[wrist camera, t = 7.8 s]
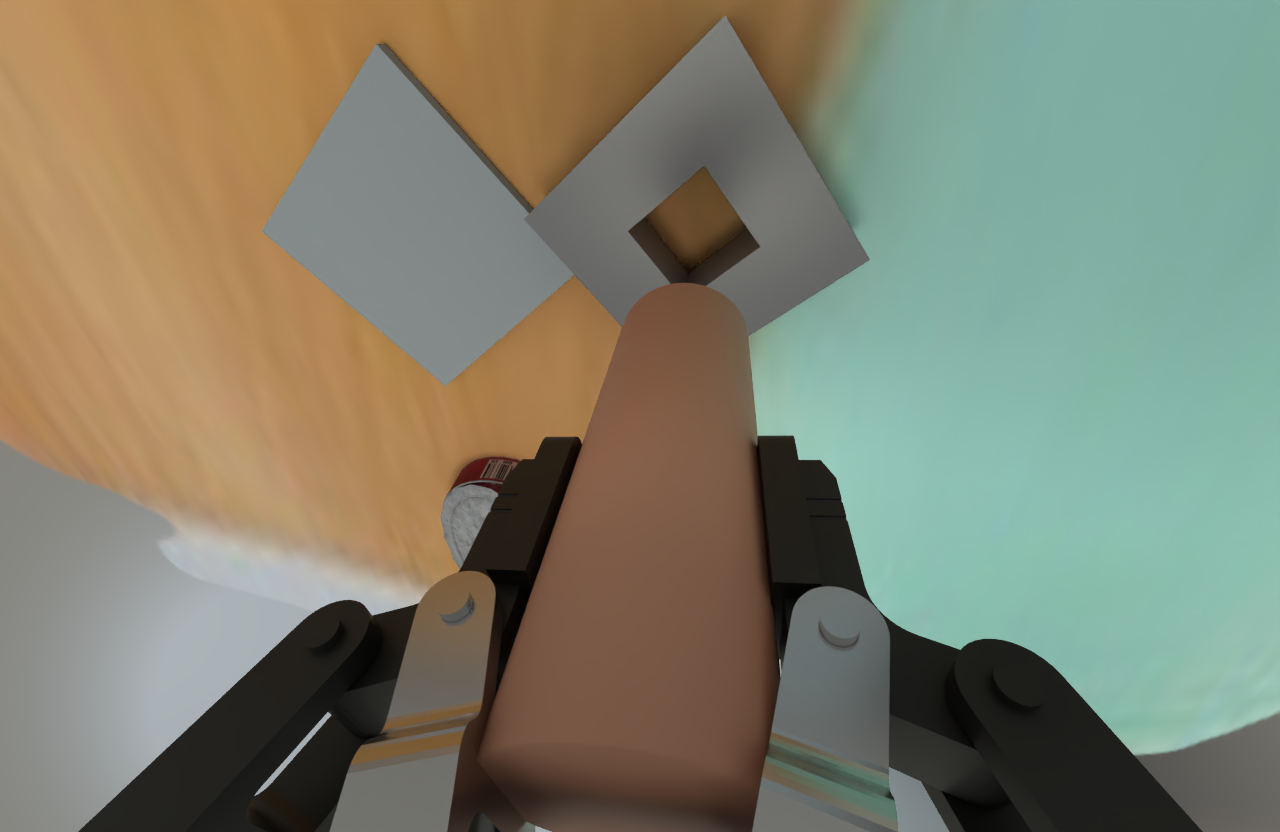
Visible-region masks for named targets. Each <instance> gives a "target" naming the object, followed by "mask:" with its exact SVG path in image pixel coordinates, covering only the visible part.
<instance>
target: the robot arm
mask: <svg viewBox="0 0 1280 832" xmlns="http://www.w3.org/2000/svg"><path fill="white" fill-rule="evenodd" d="M581 446H582V443H581V440H580V439H579V437H546V438H544V439H543V441H542V443H541V445H540V448H539V450H538V452H537V454H536V457H535V459H523V460H522V461H521V462H520V463H519V464H518V465H517V466H516V467H515V468H514V469H513V470H512V471H511V472H509V473H508V474H507V476H506V478H505V480H504V482H503V484H502V486H501V488H500V490H499V492H498V497H496V498H495V500H494V502H493V504H492V506H491V508H490V510H491V511H490V512H488V514H487V516H486V518H485V520H484V522H483V524H482V526H481V528H480V530H479V532H478V534H477V536H476V538H475V540H474V542H473V545H472V547H471V549H470V551H469V553H468V555H467V557H466V559H465V561H464V563H463V565H462V567H461V569H460V570H459V572H458V573H455V574H452V575H450V576H448V577H446V578H444V579H442V580H441V581H439V582H438V583H436V584H435V585H434V586H433V587H431V588H430V589H429V591H428V592H427V593H426V594H425V595H424V596H423V598H422V599H421V601H420V603H418V604H415V605H412V606H408V607H404V608H400V609H397V610H393V611H389V612H385V613H381V614H377V615H373V616H372V615H371V614H370V612H369V611H368V610H367V608H366V607H365V606H364V605H363V604H362V603H360V602H357V601H353V600H343V601H337V602H334V603H331V604H328V605H326V606H324V607H322V608H320V609H318V610H317V611H315V612H314V613H312V614H311V615H309V616H308V617H307V618H306V619H304V620H303V621H302V622H301V623H300V624H299V625H298V626H297V627H296V628H295V629H294V630H293V631H291V632H290V633H289V634H288V635H287V636H286V637H285V638H284V639H283V640H282V641H281V642H280V643H279V644H278V645H277V646H276V647H274V648H273V649H272V650H271V651H270V652H269V653H268V654H267V655H266V656H265V657H264V658H263V659H262V660H261V661H259V663H257V664H256V665H255V666H254V667H253V668H252V669H251V670H250V671H249V672H248V673H247V674H246V675H245V676H244V677H243V678H241V679H240V680H239V681H238V682H237V683H236V684H235V685H234V686H233V687H232V688H231V689H230V690H229V691H228V692H226V694H225V695H223V696H222V697H221V698H220V699H219V700H218V701H217V702H216V703H215V704H214V705H213V706H212V707H211V708H209V709H208V710H207V711H206V712H205V713H204V714H203V715H202V716H201V717H200V718H199V719H198V720H197V721H196V722H195V723H194V724H192V726H190V727H189V728H188V729H187V730H186V731H185V732H184V733H183V734H182V735H181V736H180V737H179V738H178V739H176V741H174V742H173V743H172V744H171V745H170V746H169V747H168V748H167V749H166V750H165V751H164V752H163V753H162V754H160V755H159V756H158V757H157V758H156V759H155V760H154V761H153V762H152V763H151V764H150V765H149V766H148V767H147V768H146V769H145V770H143V771H142V772H141V773H140V774H139V775H138V776H137V777H136V778H135V779H134V780H133V781H132V782H131V783H130V784H129V785H127V787H125V788H124V789H123V790H122V791H121V792H120V793H119V794H118V795H117V796H116V797H115V798H114V799H113V800H112V801H110V802H109V803H108V804H107V805H106V806H105V807H104V808H103V809H102V810H101V811H100V812H99V813H98V814H97V815H96V816H95V817H93V818H92V820H90V821H89V822H88V823H87V824H86V825H85V826H84V827H83V828H82V829H81V830H80V831H79V832H535V825H533V824H531V823H528V822H526V821H525V819H524V818H523V817H522V816H521V815H520V813H519V812H518V811H517V810H516V808H515V807H514V806H513V805H512V803H511V802H510V801H509V800H508V798H507V797H506V796H505V795H504V794H503V792H502V791H501V790H500V789H499V787H498V786H497V785H496V784H495V782H494V781H493V780H492V779H491V777H490V776H489V775H488V774H487V772H486V771H485V770H484V769H483V768H482V766H481V765H480V764H479V763H478V761H477V757H478V753H479V749H480V745H481V742H482V738H483V735H484V732H485V728H486V725H487V721H488V718H489V714H490V711H491V708H492V705H493V702H494V700H495V697H496V694H497V691H498V688H499V685H500V682H501V679H502V676H503V673H504V670H505V668H506V665H507V662H508V659H509V656H510V653H511V650H512V647H513V644H514V641H515V638H516V636H517V633H518V630H519V627H520V624H521V621H522V618H523V615H524V612H525V609H526V606H527V604H528V601H529V598H530V595H531V592H532V589H533V586H534V583H535V580H536V577H537V574H538V572H539V569H540V566H541V563H542V560H543V557H544V554H545V551H546V548H547V545H548V542H549V540H550V537H551V534H552V531H553V528H554V525H555V522H556V519H557V516H558V513H559V510H560V508H561V505H562V502H563V499H564V496H565V493H566V490H567V487H568V484H569V481H570V478H571V476H572V473H573V470H574V467H575V464H576V461H577V458H578V455H579V452H580V449H581ZM757 452H758V463H759V474H760V485H761V496H762V507H763V518H764V529H765V540H766V551H767V562H768V573H769V584H770V595H771V605H772V607H773V610H774V616H775V625H776V635H777V646H778V656H779V659H780V660H781V670H782V674H781V679H780V685H779V690H778V696H777V702H776V707H775V713H774V719H773V725H772V730H771V736H770V741H769V746H768V749H767V753H766V758H765V763H764V768H763V773H762V779H761V784H760V790H759V795H758V801H757V807H756V812H755V818H754V824H753V829H752V832H898V821H897V811H896V805H895V800H894V798H893V796H892V794H891V792H890V787H889V767H891V768H893V769H895V770H897V771H900V772H902V773H904V774H906V775H909V776H911V777H913V778H915V779H917V780H919V781H921V782H922V784H923V785H924V787H925V789H926V791H927V793H928V794H929V796H930V798H931V800H932V801H933V803H934V805H935V806H936V808H937V810H938V812H939V814H940V815H941V817H942V819H943V821H944V823H945V824H946V826H947V828H948V830H949V831H950V832H1202V831H1201V829H1199V827H1198V826H1197V825H1196V824H1195V823H1194V822H1193V821H1192V819H1191V818H1190V817H1189V816H1188V815H1187V814H1186V813H1185V812H1184V811H1183V810H1182V808H1181V807H1180V806H1179V805H1178V804H1177V803H1176V802H1175V801H1174V799H1173V798H1172V797H1171V796H1170V795H1169V794H1168V793H1167V792H1166V791H1165V789H1164V788H1163V787H1162V786H1161V785H1160V784H1159V783H1158V782H1157V781H1156V780H1155V778H1154V777H1153V776H1152V775H1151V774H1150V773H1149V772H1148V771H1147V769H1146V768H1145V767H1144V766H1143V765H1142V764H1141V763H1140V762H1139V760H1138V759H1137V758H1136V757H1135V756H1134V755H1133V754H1132V753H1131V752H1130V750H1129V749H1128V748H1127V747H1126V746H1125V745H1124V744H1123V743H1122V742H1121V740H1120V739H1119V738H1118V737H1117V736H1116V735H1115V734H1114V733H1113V732H1112V730H1111V729H1110V728H1109V727H1108V726H1107V725H1106V724H1105V723H1104V722H1103V720H1102V719H1101V718H1100V717H1099V716H1098V715H1097V714H1096V713H1095V712H1094V710H1093V709H1092V708H1091V707H1090V706H1089V705H1088V704H1087V703H1086V702H1085V700H1084V699H1083V698H1082V697H1081V696H1080V695H1079V694H1078V693H1077V692H1076V690H1075V689H1074V688H1073V687H1072V686H1071V685H1070V684H1069V683H1068V682H1067V680H1066V679H1065V678H1064V677H1063V676H1062V675H1061V674H1060V673H1059V672H1058V671H1057V670H1056V669H1055V668H1054V667H1053V666H1052V665H1050V664H1049V663H1048V662H1047V661H1045V660H1044V659H1043V658H1041V657H1040V656H1038V655H1037V654H1035V653H1034V652H1032V651H1030V650H1028V649H1026V648H1024V647H1022V646H1019V645H1017V644H1014V643H1011V642H1007V641H1004V640H998V639H981V640H976V641H973V642H971V643H968V644H967V645H966V646H964V647H963V648H962V649H961V650H959V649H956V648H953V647H950V646H947V645H944V644H942V643H939V642H936V641H933V640H930V639H927V638H924V637H921V636H918V635H916V634H913V633H911V632H908V631H906V630H905V629H903V628H901V627H899V626H898V625H896V624H895V623H893V622H892V621H890V620H889V619H888V618H887V617H885V616H884V615H883V614H882V613H881V612H880V611H879V610H878V609H877V607H876V606H875V605H874V603H873V602H872V601H871V599H870V597H869V595H868V593H867V591H866V588H865V585H864V581H863V578H862V574H861V570H860V566H859V563H858V559H857V555H856V551H855V547H854V544H853V540H852V536H851V532H850V529H849V525H848V521H847V520H846V514H845V510H844V506H843V503H842V502H841V495H840V491H839V487H838V484H837V480H836V477H835V476H834V475H833V474H832V473H831V472H830V470H829V469H828V468H827V467H826V466H825V465H824V464H823V462H822V461H821V460H798V455H797V449H796V444H795V439H794V436H758V439H757ZM327 712H329V713H330V714H331V717H330V718H329V719H328V720H327V721H326V722H325V723H324V724H323V726H322V727H321V728H320V729H319V730H318V731H317V732H316V734H315V735H314V736H313V737H312V738H311V739H310V740H309V741H308V743H307V744H306V745H305V746H304V747H303V748H302V749H301V751H300V752H299V753H298V754H297V755H296V756H295V757H294V758H293V760H292V761H291V762H290V763H289V764H288V765H287V767H286V768H285V769H284V770H283V771H282V772H281V773H280V774H279V776H278V777H277V778H276V779H275V780H274V781H273V783H271V784H270V785H269V787H267V788H266V789H265V790H264V791H262V792H261V793H259V794H258V795H256V796H254V795H255V794H256V792H257V791H258V790H259V788H260V787H261V786H262V785H263V784H264V783H265V782H266V781H267V779H268V778H269V777H270V776H271V775H272V774H273V773H274V772H275V770H276V769H277V768H278V767H279V766H280V765H281V764H282V763H283V761H284V760H285V759H286V758H287V757H288V756H289V755H290V754H291V752H292V751H293V750H294V749H295V748H296V747H297V746H298V745H299V743H300V742H301V741H302V740H303V739H304V738H305V737H306V735H307V734H308V733H309V732H310V731H311V730H312V729H313V728H314V727H315V725H316V724H317V723H318V722H319V721H320V720H321V719H322V718H323V717H324V715H325V714H326V713H327Z"/></svg>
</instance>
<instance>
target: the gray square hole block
mask: <svg viewBox="0 0 1280 832" xmlns="http://www.w3.org/2000/svg"><path fill="white" fill-rule="evenodd" d="M703 166H705V168H706V169H707V171H708V172H709V174H710V175H711V177H712V178H713V179H714V181H715V182H716V184H717V185H718V187H719V188H720V189H721V191H722V192H723V194H724V195H725V197H726V198H727V200H728V201H729V202H730V204H731V205H732V207H733V208H734V210H735V211H736V213H737V214H738V215H739V217H740V218H741V220H742V221H743V223H744V224H745V225H746V227H747V228H748V229H747V230H745V231H744V232H743V233H741V234H740V235H739V236H737V237H736V238H735V239H733V240H732V241H731V242H729V243H728V244H727V245H725V246H724V247H723V248H721V249H720V250H719V251H717V252H716V253H715V254H713V255H712V256H711V257H709V258H708V259H707V260H705V261H704V262H703V263H701V264H700V265H699V266H697V267H696V268H695V269H693V270H692V271H691V272H689V273H688V272H687V271H686V270H685V268H684V267H683V266H682V265H681V263H680V262H679V261H678V259H677V258H676V257H675V256H674V254H673V253H672V252H671V251H670V249H669V248H668V247H667V246H666V244H665V243H664V242H663V240H662V239H661V238H660V237H659V235H658V234H657V233H656V232H655V230H654V229H653V228H652V227H651V225H650V224H649V223H648V222H647V220H646V219H645V218H644V217H645V216H646V215H647V214H649V213H650V212H651V211H652V210H653V209H654V208H656V207H657V206H658V205H659V204H660V203H661V202H662V201H664V200H665V199H666V198H667V197H668V196H669V195H671V194H672V193H673V192H674V191H675V190H676V189H678V188H679V187H680V186H681V185H682V184H683V183H685V182H686V181H687V180H688V179H689V178H690V177H692V176H693V175H694V174H695V173H696V172H697V171H699V170H700V169H701V168H702V167H703ZM524 220H525V221H526V222H527V223H528V224H529V225H530V227H531V228H532V229H533V230H534V231H535V232H536V233H537V234H538V235H539V236H540V238H541V239H542V240H543V241H544V242H545V243H546V244H547V245H548V246H549V247H550V248H551V250H552V251H553V252H554V253H555V254H556V255H557V256H558V257H559V258H560V259H561V261H562V262H563V263H564V264H565V265H566V266H567V267H568V268H569V269H570V270H571V272H572V273H573V274H574V275H575V276H576V277H577V278H578V279H579V280H580V281H581V282H582V284H583V285H584V286H585V287H586V288H587V289H588V290H589V291H590V292H591V293H592V295H593V296H594V297H595V298H596V299H597V300H598V301H599V302H600V303H601V304H602V306H603V307H604V308H605V309H606V310H607V311H608V312H609V313H610V314H611V315H612V317H613V318H614V319H615V320H616V321H617V322H618V323H619V324H620V325H621V326H622V327H623V324H624V321H625V319H626V317H627V315H628V313H629V311H630V310H631V308H632V307H633V306H634V305H635V303H636V302H637V301H638V300H639V299H640V298H642V297H643V296H644V295H646V294H647V293H649V292H650V291H652V290H654V289H656V288H659V287H662V286H665V285H669V284H674V283H694V284H699V285H703V286H706V287H709V288H712V289H714V290H716V291H718V292H720V293H721V294H723V295H724V296H726V297H727V298H728V299H729V300H730V301H731V302H732V303H733V304H734V305H735V306H736V307H737V308H738V310H739V312H740V313H741V315H742V317H743V319H744V321H745V324H746V327H747V332H748V336H749V335H751V334H752V333H754V332H756V331H757V330H759V329H760V328H762V327H764V326H765V325H767V324H768V323H770V322H771V321H773V320H775V319H776V318H778V317H779V316H781V315H783V314H784V313H786V312H787V311H789V310H791V309H792V308H794V307H795V306H797V305H799V304H800V303H802V302H803V301H805V300H806V299H808V298H810V297H811V296H813V295H814V294H816V293H818V292H819V291H821V290H822V289H824V288H826V287H827V286H829V285H830V284H832V283H834V282H835V281H837V280H838V279H840V278H841V277H843V276H845V275H846V274H848V273H849V272H851V271H853V270H854V269H856V268H857V267H859V266H861V265H862V264H864V263H865V262H867V261H869V260H870V259H869V257H868V256H867V254H866V252H865V251H864V249H863V247H862V246H861V244H860V242H859V241H858V239H857V237H856V235H855V234H854V232H853V230H852V229H851V227H850V225H849V224H848V222H847V220H846V219H845V217H844V215H843V213H842V212H841V210H840V208H839V207H838V205H837V203H836V202H835V200H834V198H833V197H832V195H831V193H830V191H829V190H828V188H827V186H826V185H825V183H824V181H823V180H822V178H821V176H820V175H819V173H818V171H817V169H816V168H815V166H814V164H813V163H812V161H811V159H810V158H809V156H808V154H807V153H806V151H805V149H804V148H803V146H802V144H801V142H800V141H799V139H798V137H797V136H796V134H795V132H794V131H793V129H792V127H791V126H790V124H789V122H788V120H787V119H786V117H785V115H784V114H783V112H782V110H781V109H780V107H779V105H778V104H777V102H776V100H775V98H774V97H773V95H772V93H771V92H770V90H769V88H768V87H767V85H766V83H765V82H764V80H763V78H762V77H761V75H760V73H759V71H758V70H757V68H756V66H755V65H754V63H753V61H752V60H751V58H750V56H749V55H748V53H747V51H746V49H745V48H744V46H743V44H742V43H741V41H740V39H739V38H738V36H737V34H736V33H735V31H734V29H733V27H732V26H731V24H730V22H729V21H728V19H727V17H726V16H724V17H723V18H722V19H721V20H720V21H719V22H718V23H717V24H716V25H715V26H714V27H713V28H712V29H711V30H710V31H709V32H708V33H707V34H706V35H705V36H704V37H703V38H702V39H701V40H700V41H699V42H698V43H697V44H696V45H695V46H694V47H693V48H692V49H691V50H690V51H689V52H688V53H687V54H686V55H685V57H684V58H683V59H682V60H681V61H680V62H679V63H678V64H677V65H676V66H675V67H674V68H673V69H672V70H671V71H670V72H669V73H668V74H667V75H666V76H665V77H664V78H663V79H662V80H661V81H660V82H659V83H658V84H657V85H656V86H655V87H654V88H653V89H652V90H651V91H650V92H649V93H648V94H647V95H646V96H645V97H644V98H643V99H642V100H641V101H640V102H639V103H638V104H637V105H636V106H635V107H634V108H633V109H632V110H631V111H630V112H629V113H628V114H627V115H626V116H625V117H624V118H623V119H622V120H621V121H620V122H619V123H618V124H617V125H616V126H615V127H614V128H613V129H612V130H611V131H610V132H609V133H608V134H607V135H606V136H605V138H604V139H603V140H602V141H601V142H600V143H599V144H598V145H597V146H596V147H595V148H594V149H593V150H592V151H591V152H590V153H589V154H588V155H587V156H586V157H585V158H584V159H583V160H582V161H581V162H580V163H579V164H578V165H577V166H576V167H575V168H574V169H573V170H572V171H571V172H570V173H569V174H568V175H567V176H566V177H565V178H564V179H563V180H562V181H561V182H560V183H559V184H558V185H557V186H556V187H555V188H554V189H553V190H552V191H551V192H550V193H549V194H548V195H547V196H546V197H545V198H544V199H543V200H542V201H541V202H540V203H539V204H538V205H537V206H536V207H535V208H534V209H533V210H532V211H531V212H530V213H529V214H528V215H527V216H526V217H525V219H524Z"/></svg>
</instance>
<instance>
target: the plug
mask: <svg viewBox="0 0 1280 832" xmlns="http://www.w3.org/2000/svg"><path fill="white" fill-rule="evenodd" d="M757 439H758V435H757V425H756V414H755V404H754V393H753V383H752V372H751V362H750V351H749V341H748V332H747V327H746V324H745V321H744V319H743V317H742V315H741V313H740V312H739V310H738V308H737V307H736V306H735V305H734V304H733V303H732V302H731V301H730V300H729V299H728V298H727V297H726V296H724V295H723V294H721V293H720V292H718V291H716V290H714V289H712V288H709V287H706V286H703V285H699V284H694V283H674V284H669V285H665V286H662V287H659V288H656V289H654V290H652V291H650V292H649V293H647V294H646V295H644V296H643V297H642V298H640V299H639V300H638V301H637V302H636V303H635V305H634V306H633V307H632V308H631V310H630V311H629V313H628V315H627V317H626V319H625V321H624V324H623V327H622V330H621V333H620V336H619V339H618V342H617V345H616V348H615V350H614V353H613V356H612V359H611V362H610V365H609V368H608V371H607V374H606V377H605V380H604V382H603V385H602V388H601V391H600V394H599V397H598V400H597V403H596V406H595V409H594V412H593V414H592V417H591V420H590V423H589V426H588V429H587V432H586V435H585V438H584V441H583V444H582V446H581V449H580V452H579V455H578V458H577V461H576V464H575V467H574V470H573V473H572V476H571V478H570V481H569V484H568V487H567V490H566V493H565V496H564V499H563V502H562V505H561V508H560V510H559V513H558V516H557V519H556V522H555V525H554V528H553V531H552V534H551V537H550V540H549V542H548V545H547V548H546V551H545V554H544V557H543V560H542V563H541V566H540V569H539V572H538V574H537V577H536V580H535V583H534V586H533V589H532V592H531V595H530V598H529V601H528V604H527V606H526V609H525V612H524V615H523V618H522V621H521V624H520V627H519V630H518V633H517V636H516V638H515V641H514V644H513V647H512V650H511V653H510V656H509V659H508V662H507V665H506V668H505V670H504V673H503V676H502V679H501V682H500V685H499V688H498V691H497V694H496V697H495V700H494V702H493V705H492V708H491V711H490V714H489V718H488V721H487V725H486V728H485V732H484V735H483V738H482V742H481V745H480V749H479V753H478V757H477V761H478V763H479V764H480V765H481V766H482V768H483V769H484V770H485V771H486V772H487V774H488V775H489V776H490V777H491V779H492V780H493V781H494V782H495V784H496V785H497V786H498V787H499V789H500V790H501V791H502V792H503V794H504V795H505V796H506V797H507V798H508V800H509V801H510V802H511V803H512V805H513V806H514V807H515V808H516V810H517V811H518V812H519V813H520V815H521V816H522V817H523V818H524V819H525V821H526V822H528V823H531V824H533V825H536V826H538V827H541V828H543V829H546V830H549V831H552V832H752V829H753V824H754V818H755V812H756V807H757V801H758V795H759V790H760V784H761V779H762V773H763V768H764V763H765V758H766V753H767V749H768V746H769V741H770V736H771V730H772V725H773V719H774V713H775V707H776V702H777V696H778V690H779V685H780V679H781V677H780V667H779V656H778V646H777V635H776V625H775V616H774V610H773V607H772V605H771V595H770V584H769V573H768V562H767V551H766V540H765V529H764V518H763V507H762V496H761V485H760V474H759V463H758V452H757Z"/></svg>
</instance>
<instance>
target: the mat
mask: <svg viewBox="0 0 1280 832" xmlns="http://www.w3.org/2000/svg"><path fill="white" fill-rule="evenodd" d="M532 210H533V209H532V208H531V206H530V205H529V204H528V203H527V202H526V201H525V200H524V199H523V198H522V196H521V195H520V194H519V193H518V192H517V191H516V190H515V189H514V187H513V186H512V185H511V184H510V183H509V182H508V181H507V180H506V178H505V177H504V176H503V175H502V174H501V173H500V172H499V171H498V170H497V168H496V167H495V166H494V165H493V164H492V163H491V162H490V161H489V159H488V158H487V157H486V156H485V155H484V154H483V153H482V152H481V151H480V149H479V148H478V147H477V146H476V145H475V144H474V143H473V142H472V140H471V139H470V138H469V137H468V136H467V135H466V134H465V133H464V131H463V130H462V129H461V128H460V127H459V126H458V125H457V124H456V123H455V121H454V120H453V119H452V118H451V117H450V116H449V115H448V114H447V112H446V111H445V110H444V109H443V108H442V107H441V106H440V105H439V104H438V102H437V101H436V100H435V99H434V98H433V97H432V96H431V95H430V93H429V92H428V91H427V90H426V89H425V88H424V87H423V86H422V84H421V83H420V82H419V81H418V80H417V79H416V78H415V77H414V76H413V74H412V73H411V72H410V71H409V70H408V69H407V68H406V67H405V65H404V64H403V63H402V62H401V61H400V60H399V59H398V58H397V57H396V55H395V54H394V53H393V52H392V51H391V50H390V49H389V48H388V46H387V45H386V44H376V45H375V47H374V49H373V50H372V52H371V53H370V55H369V57H368V58H367V60H366V62H365V63H364V65H363V67H362V68H361V70H360V71H359V73H358V75H357V76H356V78H355V80H354V81H353V83H352V84H351V86H350V88H349V89H348V91H347V93H346V94H345V96H344V98H343V99H342V101H341V102H340V104H339V106H338V107H337V109H336V111H335V112H334V114H333V116H332V117H331V119H330V120H329V122H328V124H327V125H326V127H325V129H324V130H323V132H322V133H321V135H320V137H319V138H318V140H317V142H316V143H315V145H314V147H313V148H312V150H311V151H310V153H309V155H308V156H307V158H306V160H305V161H304V163H303V164H302V166H301V168H300V169H299V171H298V173H297V174H296V176H295V178H294V179H293V181H292V182H291V184H290V186H289V187H288V189H287V191H286V192H285V194H284V195H283V197H282V199H281V200H280V202H279V204H278V205H277V207H276V209H275V210H274V212H273V213H272V215H271V217H270V218H269V220H268V222H267V223H266V225H265V227H264V228H263V230H262V232H263V233H265V234H266V235H267V236H268V237H269V238H270V239H272V240H273V241H274V242H275V243H276V244H278V245H279V246H280V247H281V248H282V249H283V250H285V251H286V252H287V253H288V254H289V255H291V256H292V257H293V258H294V259H295V260H297V261H298V262H299V263H300V264H301V265H302V266H304V267H305V268H306V269H307V270H308V271H310V272H311V273H312V274H313V275H314V276H316V277H317V278H318V279H319V280H320V281H321V282H323V283H324V284H325V285H326V286H327V287H329V288H330V289H331V290H332V291H333V292H334V293H336V294H337V295H338V296H339V297H340V298H342V299H343V300H344V301H345V302H346V303H348V304H349V305H350V306H351V307H352V308H353V309H355V310H356V311H357V312H358V313H359V314H361V315H362V316H363V317H364V318H365V319H367V320H368V321H369V322H370V323H371V324H372V325H374V326H375V327H376V328H377V329H378V330H380V331H381V332H382V333H383V334H384V335H385V336H387V337H388V338H389V339H390V340H391V341H393V342H394V343H395V344H396V345H397V346H399V347H400V348H401V349H402V350H403V351H404V352H406V353H407V354H408V355H409V356H410V357H412V358H413V359H414V360H415V361H416V362H418V363H419V364H420V365H421V366H422V367H423V368H425V369H426V370H427V371H428V372H429V373H431V374H432V375H433V376H434V377H435V378H436V379H438V380H439V381H440V382H441V383H442V384H444V385H445V386H446V385H447V384H448V383H450V382H451V381H452V380H453V379H454V378H455V377H457V376H458V375H459V374H460V373H461V372H462V371H464V370H465V369H466V368H467V367H468V366H469V365H470V364H472V363H473V362H474V361H475V360H476V359H477V358H479V357H480V356H481V355H482V354H483V353H484V352H485V351H487V350H488V349H489V348H490V347H491V346H492V345H494V344H495V343H496V342H497V341H498V340H499V339H501V338H502V337H503V336H504V335H505V334H506V333H507V332H509V331H510V330H511V329H512V328H513V327H514V326H516V325H517V324H518V323H519V322H520V321H521V320H522V319H524V318H525V317H526V316H527V315H528V314H529V313H531V312H532V311H533V310H534V309H535V308H536V307H538V306H539V305H540V304H541V303H542V302H543V301H544V300H546V299H547V298H548V297H549V296H550V295H551V294H553V293H554V292H555V291H556V290H557V289H558V288H559V287H561V286H562V285H563V284H564V283H565V282H566V281H568V280H569V279H570V278H571V277H572V276H573V275H574V274H573V273H572V272H571V270H570V269H569V268H568V267H567V266H566V265H565V264H564V263H563V262H562V261H561V259H560V258H559V257H558V256H557V255H556V254H555V253H554V252H553V251H552V250H551V248H550V247H549V246H548V245H547V244H546V243H545V242H544V241H543V240H542V239H541V238H540V236H539V235H538V234H537V233H536V232H535V231H534V230H533V229H532V228H531V227H530V225H529V224H528V223H527V222H526V221H525V220H524V219H525V217H526V216H527V215H528V214H529V213H530V212H531V211H532Z"/></svg>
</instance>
